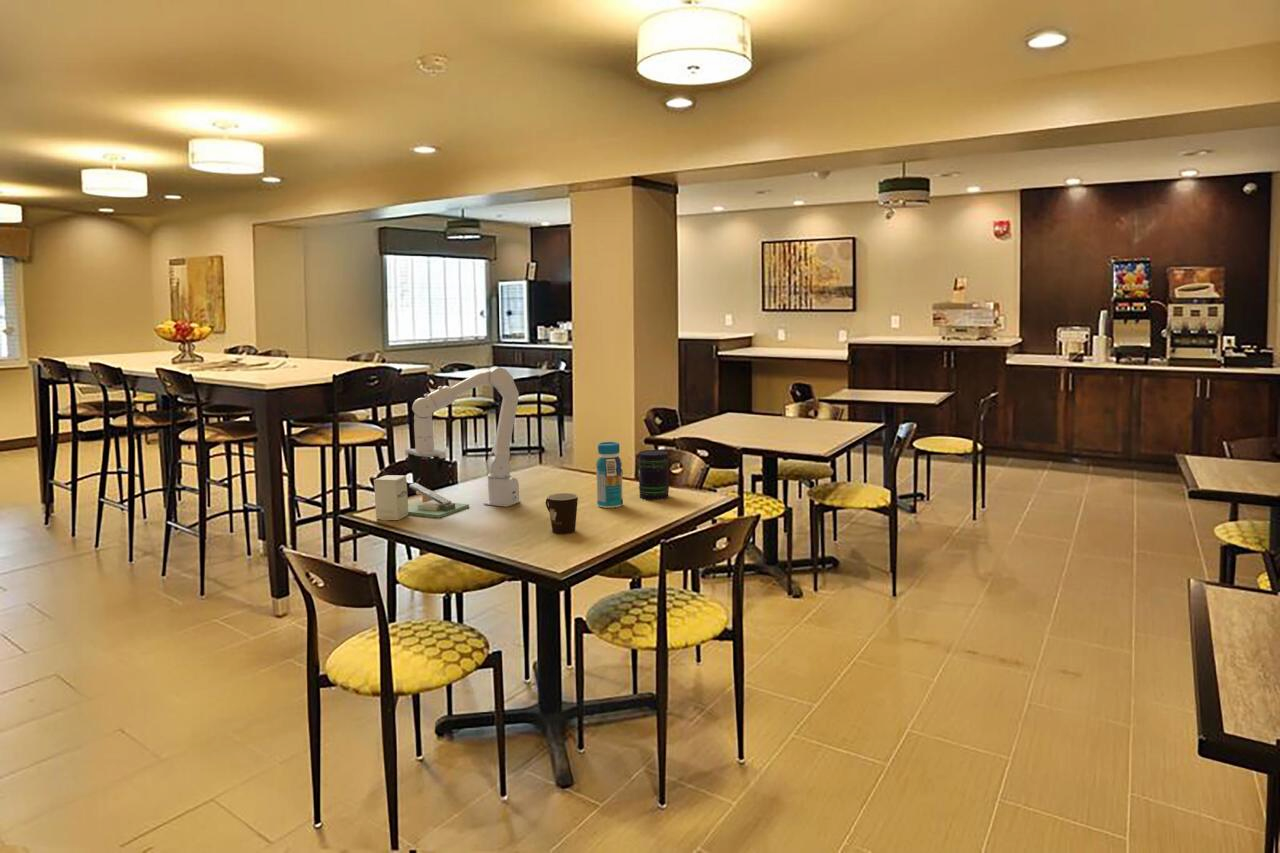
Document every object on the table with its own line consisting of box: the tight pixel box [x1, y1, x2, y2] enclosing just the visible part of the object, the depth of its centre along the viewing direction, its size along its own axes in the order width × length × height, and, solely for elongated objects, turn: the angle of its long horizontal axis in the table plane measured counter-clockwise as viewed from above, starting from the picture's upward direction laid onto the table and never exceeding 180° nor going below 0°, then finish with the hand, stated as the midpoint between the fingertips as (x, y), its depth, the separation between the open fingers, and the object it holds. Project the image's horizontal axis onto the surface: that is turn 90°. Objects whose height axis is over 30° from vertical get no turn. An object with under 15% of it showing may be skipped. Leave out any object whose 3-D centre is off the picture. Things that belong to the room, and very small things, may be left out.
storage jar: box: [638, 449, 670, 501], centre depth 280 cm, size 10×10×15 cm
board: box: [407, 500, 470, 519], centre depth 268 cm, size 18×15×2 cm
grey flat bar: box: [408, 482, 452, 505], centre depth 268 cm, size 14×4×1 cm, turn 66°
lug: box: [415, 489, 433, 502], centre depth 274 cm, size 3×5×4 cm, turn 154°
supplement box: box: [373, 474, 409, 521], centre depth 259 cm, size 7×7×13 cm
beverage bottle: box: [595, 441, 624, 509], centre depth 268 cm, size 8×8×20 cm
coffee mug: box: [545, 492, 579, 535], centre depth 241 cm, size 12×9×10 cm
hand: (426, 479), depth 267 cm, fingers open, 7 cm apart
